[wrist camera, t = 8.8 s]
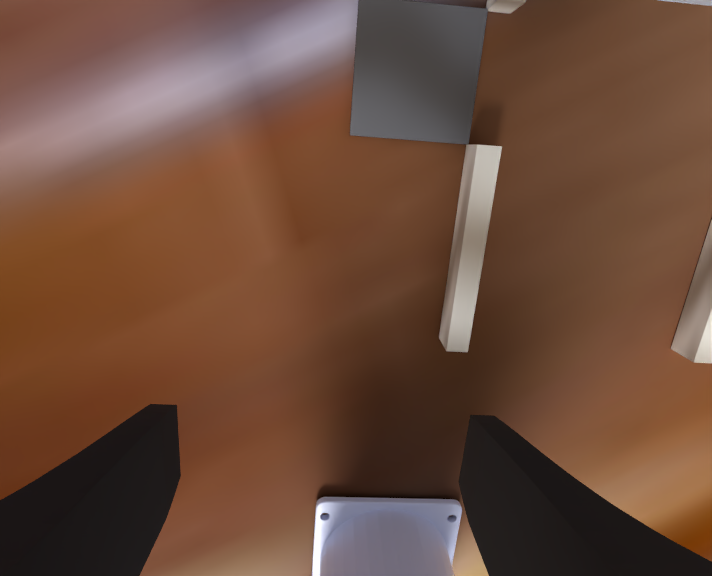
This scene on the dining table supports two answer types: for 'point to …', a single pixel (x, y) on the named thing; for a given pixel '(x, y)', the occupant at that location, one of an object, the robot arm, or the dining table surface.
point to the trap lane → (462, 140)
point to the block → (693, 2)
